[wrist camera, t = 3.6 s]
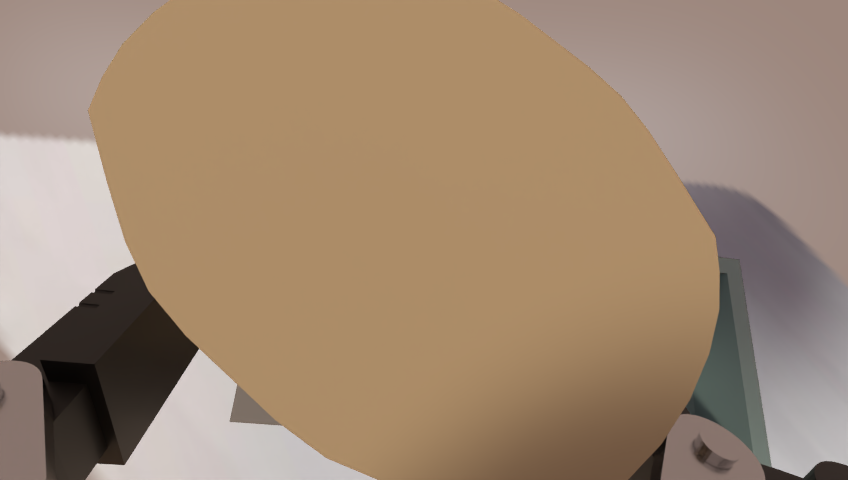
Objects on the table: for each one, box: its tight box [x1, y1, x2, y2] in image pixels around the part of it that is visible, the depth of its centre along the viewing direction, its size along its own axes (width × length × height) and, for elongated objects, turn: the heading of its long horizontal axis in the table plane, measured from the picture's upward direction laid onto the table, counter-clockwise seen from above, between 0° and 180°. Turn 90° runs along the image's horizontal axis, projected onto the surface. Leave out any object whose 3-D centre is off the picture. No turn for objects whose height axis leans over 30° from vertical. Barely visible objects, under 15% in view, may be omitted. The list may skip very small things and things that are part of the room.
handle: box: [88, 0, 720, 480], centre depth 11 cm, size 5×6×15 cm
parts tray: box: [686, 257, 771, 467], centre depth 18 cm, size 10×9×3 cm
